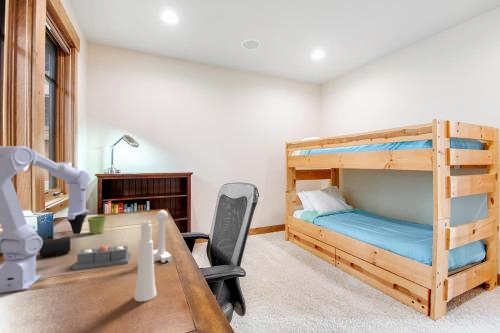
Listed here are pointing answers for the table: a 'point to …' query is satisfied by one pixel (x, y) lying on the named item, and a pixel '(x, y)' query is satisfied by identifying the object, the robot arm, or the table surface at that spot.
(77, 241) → the table surface
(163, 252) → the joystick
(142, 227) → the cosmetic bottle
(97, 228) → the plant pot
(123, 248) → the far ivory plug
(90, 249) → the near ivory plug
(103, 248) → the salmon rounded peg
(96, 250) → the socket strip
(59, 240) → the end cap
